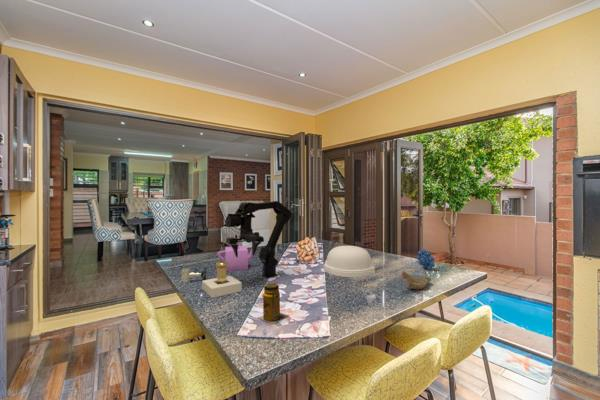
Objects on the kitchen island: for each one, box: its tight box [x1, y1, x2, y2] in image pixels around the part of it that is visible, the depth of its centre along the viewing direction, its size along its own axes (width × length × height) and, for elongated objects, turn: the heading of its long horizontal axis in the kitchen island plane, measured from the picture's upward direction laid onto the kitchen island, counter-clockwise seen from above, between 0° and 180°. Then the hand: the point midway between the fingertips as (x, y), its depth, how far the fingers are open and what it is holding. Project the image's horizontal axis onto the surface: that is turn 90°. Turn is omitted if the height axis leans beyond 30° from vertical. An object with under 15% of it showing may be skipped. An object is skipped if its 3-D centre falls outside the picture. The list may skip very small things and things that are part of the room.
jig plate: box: [201, 275, 243, 299], centre depth 128 cm, size 14×14×4 cm
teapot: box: [216, 244, 259, 272], centre depth 169 cm, size 15×25×14 cm, turn 106°
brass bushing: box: [215, 260, 228, 284], centre depth 128 cm, size 5×5×13 cm
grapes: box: [416, 248, 436, 271], centre depth 164 cm, size 12×7×12 cm, turn 32°
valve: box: [181, 267, 207, 284], centre depth 142 cm, size 7×7×12 cm
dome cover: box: [323, 245, 376, 278], centre depth 164 cm, size 32×30×14 cm
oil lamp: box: [401, 270, 432, 290], centre depth 132 cm, size 9×21×10 cm, turn 123°
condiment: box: [258, 283, 289, 325], centre depth 100 cm, size 7×8×12 cm
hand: (245, 256), depth 142 cm, fingers open, 9 cm apart
